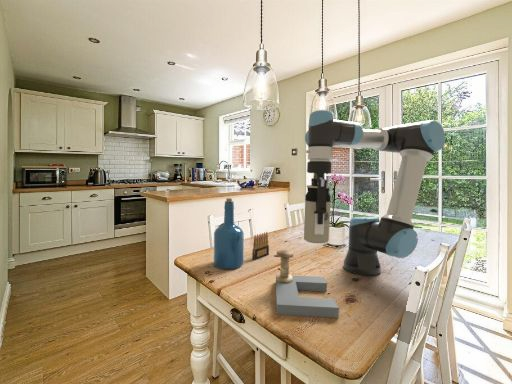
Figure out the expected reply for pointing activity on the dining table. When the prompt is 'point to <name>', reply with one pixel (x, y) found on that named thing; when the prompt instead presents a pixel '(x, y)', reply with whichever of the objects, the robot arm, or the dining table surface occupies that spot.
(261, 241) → the ammunition clip
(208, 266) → the dining table surface
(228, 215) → the wine bottle
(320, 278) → the notched board
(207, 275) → the dining table surface
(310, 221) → the travel mug
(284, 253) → the birch bobbin
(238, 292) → the dining table surface
